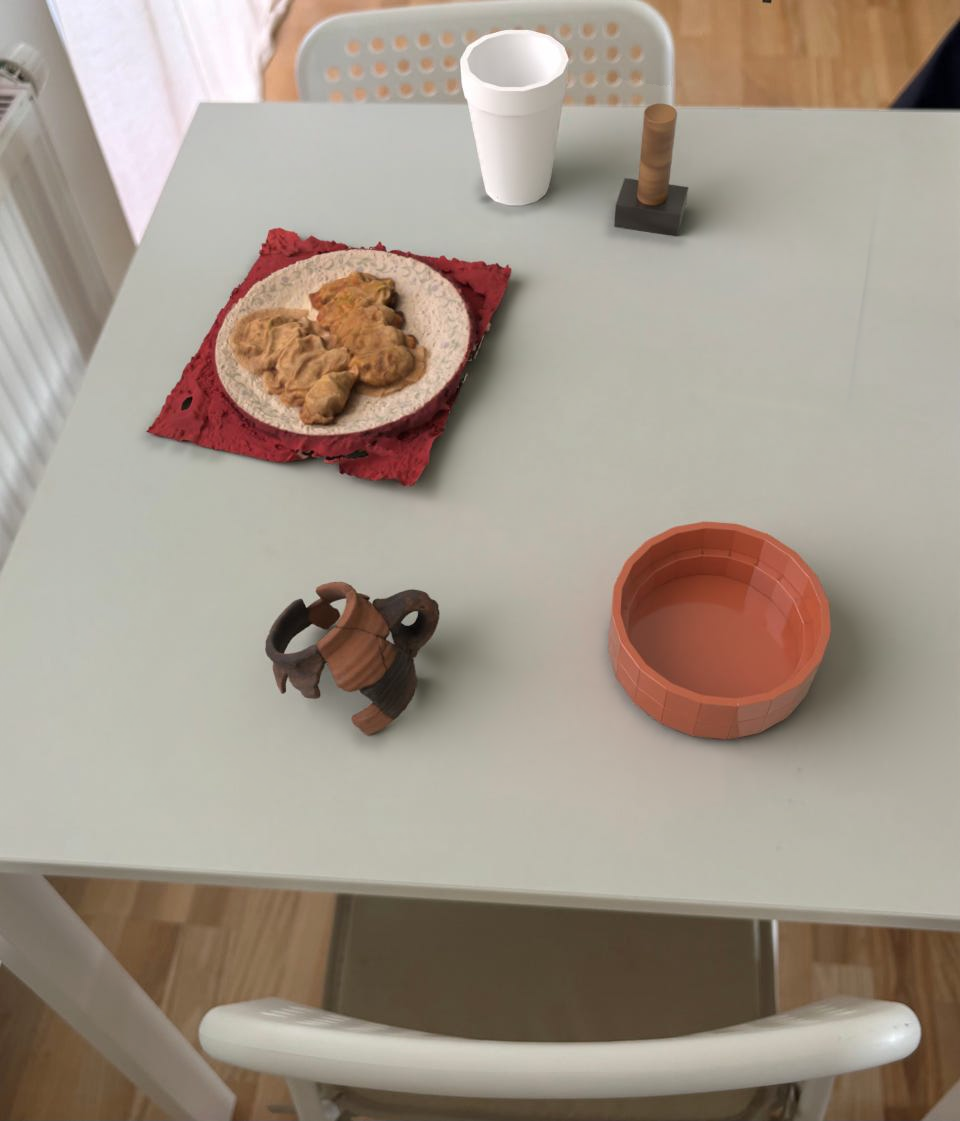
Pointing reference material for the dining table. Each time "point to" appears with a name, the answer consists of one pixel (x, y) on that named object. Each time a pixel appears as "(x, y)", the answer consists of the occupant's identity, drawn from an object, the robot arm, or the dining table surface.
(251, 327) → the plate with food
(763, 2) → the robot arm
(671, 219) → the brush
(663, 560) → the bowl
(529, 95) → the foam cup
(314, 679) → the pottery mug
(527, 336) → the dining table surface
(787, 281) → the dining table surface
